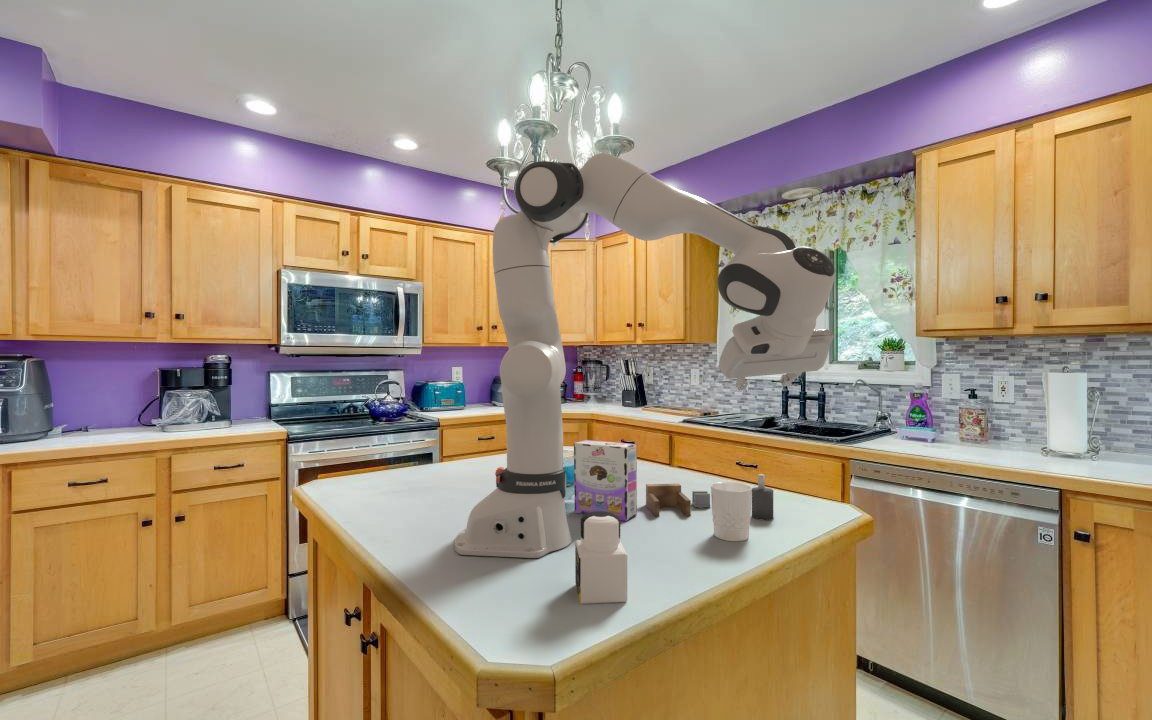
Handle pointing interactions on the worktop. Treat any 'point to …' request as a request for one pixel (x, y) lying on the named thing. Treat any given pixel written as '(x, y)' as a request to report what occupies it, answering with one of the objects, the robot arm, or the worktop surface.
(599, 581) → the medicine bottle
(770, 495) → the plug
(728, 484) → the white cup
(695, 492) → the clip
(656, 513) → the frame
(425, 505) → the worktop surface
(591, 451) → the candy box
